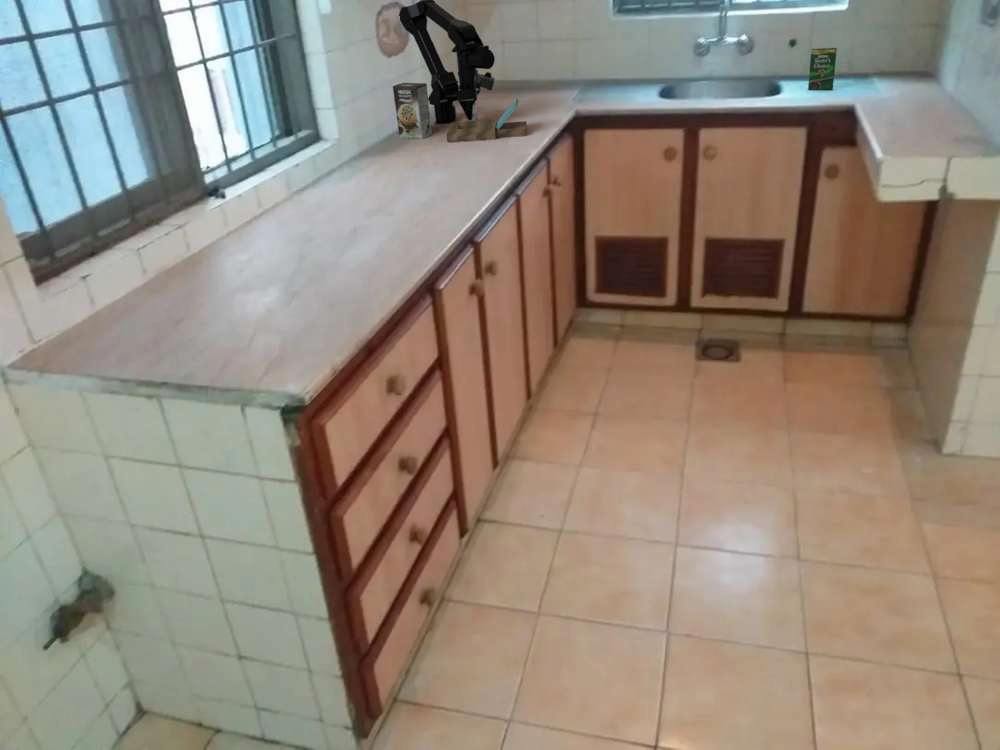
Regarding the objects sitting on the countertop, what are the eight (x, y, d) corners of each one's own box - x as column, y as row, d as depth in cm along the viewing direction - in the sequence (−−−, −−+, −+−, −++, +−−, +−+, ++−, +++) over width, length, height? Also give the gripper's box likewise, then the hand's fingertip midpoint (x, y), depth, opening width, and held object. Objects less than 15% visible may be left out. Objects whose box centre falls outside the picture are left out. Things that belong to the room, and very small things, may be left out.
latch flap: (498, 129, 251) (496, 127, 251) (499, 122, 260) (498, 120, 259) (517, 107, 247) (515, 105, 247) (518, 100, 256) (516, 98, 256)
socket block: (447, 142, 252) (446, 132, 250) (452, 131, 264) (451, 122, 262) (525, 137, 250) (525, 127, 248) (526, 126, 262) (526, 117, 260)
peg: (465, 127, 268) (463, 102, 264) (467, 124, 271) (464, 99, 267) (477, 126, 267) (475, 101, 264) (478, 123, 271) (476, 99, 267)
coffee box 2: (806, 90, 276) (810, 49, 270) (808, 88, 278) (812, 47, 272) (831, 90, 273) (836, 49, 266) (833, 88, 275) (838, 47, 268)
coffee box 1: (398, 138, 262) (391, 86, 254) (409, 133, 267) (402, 82, 259) (422, 139, 258) (415, 86, 250) (433, 134, 263) (426, 82, 255)
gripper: (489, 70, 252) (494, 121, 259) (493, 60, 268) (497, 109, 275) (454, 73, 253) (459, 124, 260) (460, 63, 269) (464, 111, 276)
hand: (471, 117), depth 268 cm, fingers open, 9 cm apart
